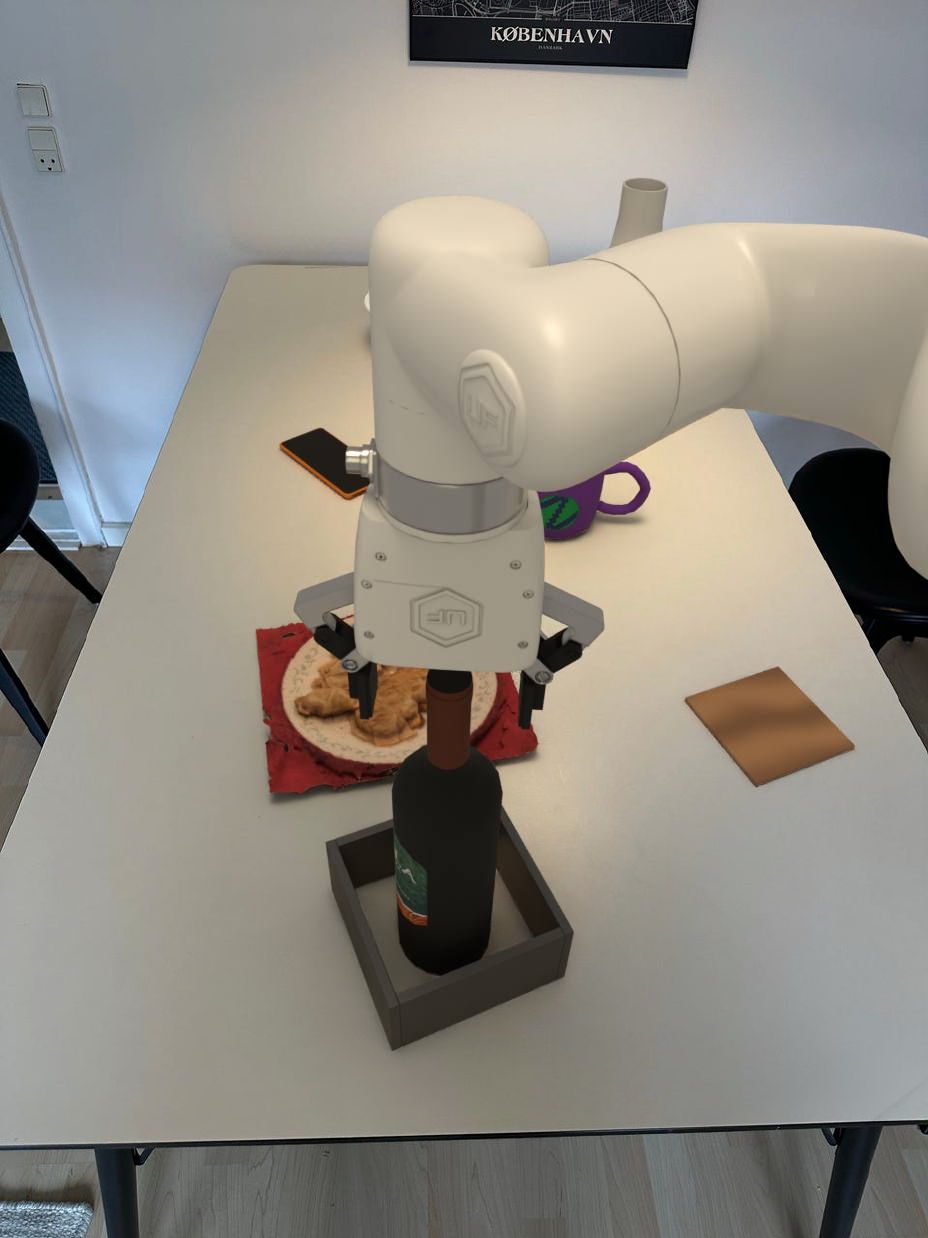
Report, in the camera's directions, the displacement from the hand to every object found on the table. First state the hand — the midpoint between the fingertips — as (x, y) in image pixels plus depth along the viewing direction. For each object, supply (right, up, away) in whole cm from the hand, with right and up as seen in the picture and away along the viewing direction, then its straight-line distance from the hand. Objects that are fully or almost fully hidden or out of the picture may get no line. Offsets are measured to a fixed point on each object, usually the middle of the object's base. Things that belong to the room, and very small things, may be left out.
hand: (446, 707), depth 56 cm
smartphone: (-17, +27, +69) cm, 76 cm away
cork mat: (+32, -5, +36) cm, 48 cm away
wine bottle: (-1, -20, +18) cm, 27 cm away
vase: (+27, +48, +94) cm, 109 cm away
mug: (+16, +18, +61) cm, 65 cm away
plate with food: (-7, -2, +38) cm, 39 cm away
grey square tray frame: (-1, -20, +18) cm, 27 cm away
